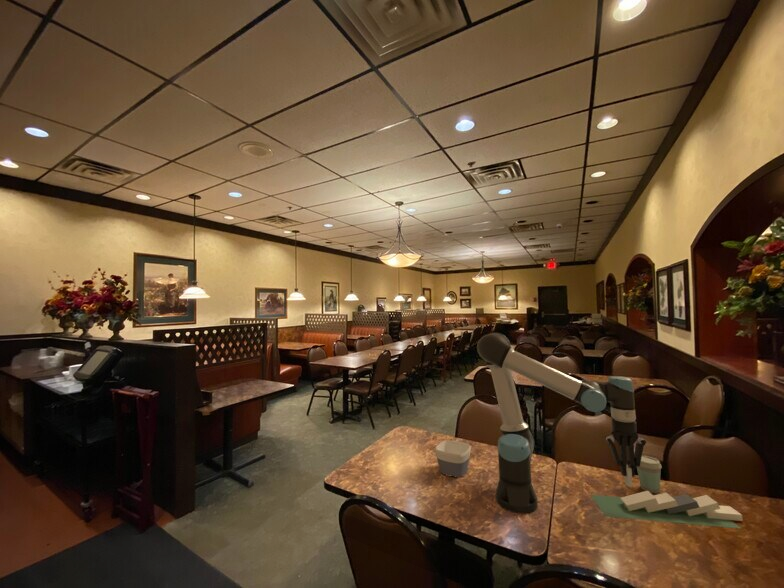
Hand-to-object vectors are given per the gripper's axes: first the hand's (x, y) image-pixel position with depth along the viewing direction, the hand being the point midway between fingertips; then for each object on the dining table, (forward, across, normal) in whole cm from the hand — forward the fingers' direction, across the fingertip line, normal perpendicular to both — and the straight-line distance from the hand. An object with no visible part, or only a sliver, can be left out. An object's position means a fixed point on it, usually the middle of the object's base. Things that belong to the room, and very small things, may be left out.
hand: (628, 484), depth 118 cm
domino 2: (+7, +4, 0) cm, 8 cm away
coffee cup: (+9, +14, +15) cm, 22 cm away
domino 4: (+7, +22, 0) cm, 24 cm away
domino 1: (+7, -2, 0) cm, 7 cm away
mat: (+8, +9, 0) cm, 12 cm away
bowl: (+9, -64, +19) cm, 67 cm away
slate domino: (+7, +11, 0) cm, 13 cm away
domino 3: (+7, +17, 0) cm, 18 cm away
